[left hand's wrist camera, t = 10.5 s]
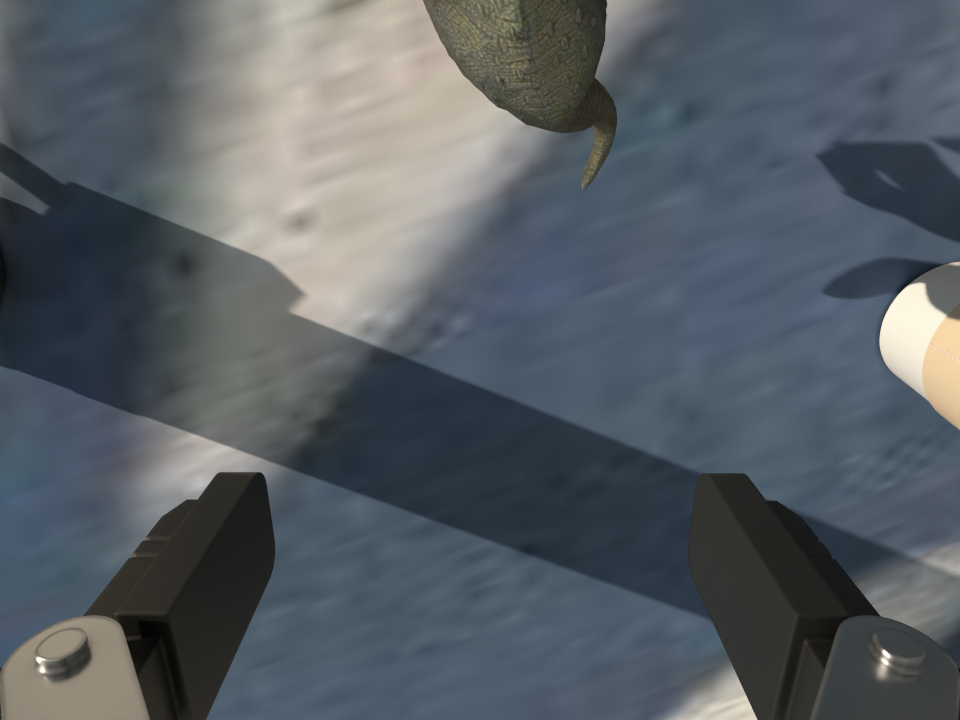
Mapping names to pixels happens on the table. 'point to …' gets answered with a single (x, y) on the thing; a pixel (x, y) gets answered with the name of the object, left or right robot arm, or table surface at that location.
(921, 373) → the coffee cup
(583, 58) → the toy dinosaur
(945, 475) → the table surface
